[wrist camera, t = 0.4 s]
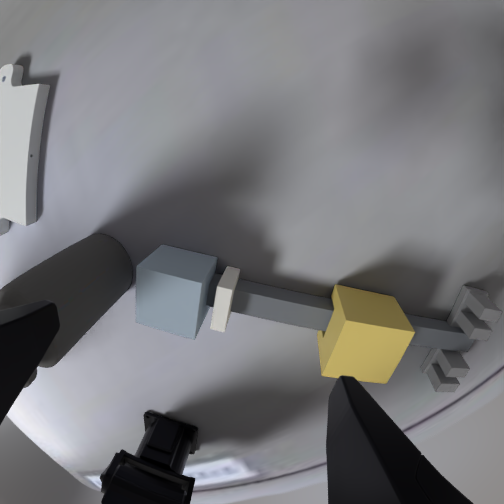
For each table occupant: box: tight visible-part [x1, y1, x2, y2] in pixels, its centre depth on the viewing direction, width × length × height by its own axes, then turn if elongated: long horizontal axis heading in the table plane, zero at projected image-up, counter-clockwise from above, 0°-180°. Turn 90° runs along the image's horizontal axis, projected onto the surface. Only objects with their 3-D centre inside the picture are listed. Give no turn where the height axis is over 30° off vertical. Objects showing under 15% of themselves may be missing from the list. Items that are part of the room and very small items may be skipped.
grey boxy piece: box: [421, 285, 502, 392], centre depth 20 cm, size 3×9×4 cm, turn 169°
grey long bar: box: [136, 244, 475, 352], centre depth 20 cm, size 28×4×4 cm, turn 79°
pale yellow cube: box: [317, 284, 415, 384], centre depth 20 cm, size 5×5×5 cm
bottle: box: [0, 234, 133, 388], centre depth 16 cm, size 6×6×15 cm
